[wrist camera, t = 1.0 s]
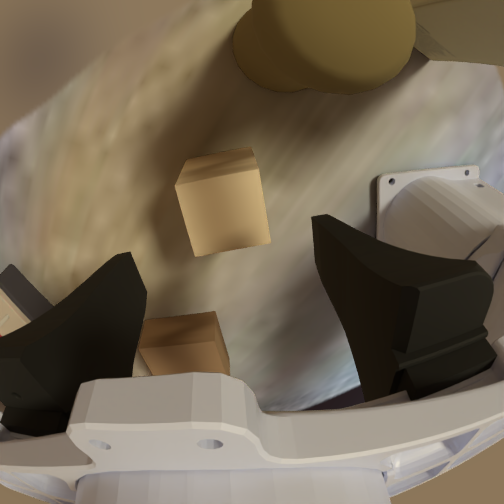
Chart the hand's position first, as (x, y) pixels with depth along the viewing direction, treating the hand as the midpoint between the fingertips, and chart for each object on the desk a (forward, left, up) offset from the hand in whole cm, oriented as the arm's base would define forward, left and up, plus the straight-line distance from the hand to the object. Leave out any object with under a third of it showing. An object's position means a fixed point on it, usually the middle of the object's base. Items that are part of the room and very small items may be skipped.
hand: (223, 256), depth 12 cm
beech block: (0, 0, -9) cm, 9 cm away
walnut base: (+6, +13, -9) cm, 17 cm away
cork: (-5, -8, -9) cm, 13 cm away
